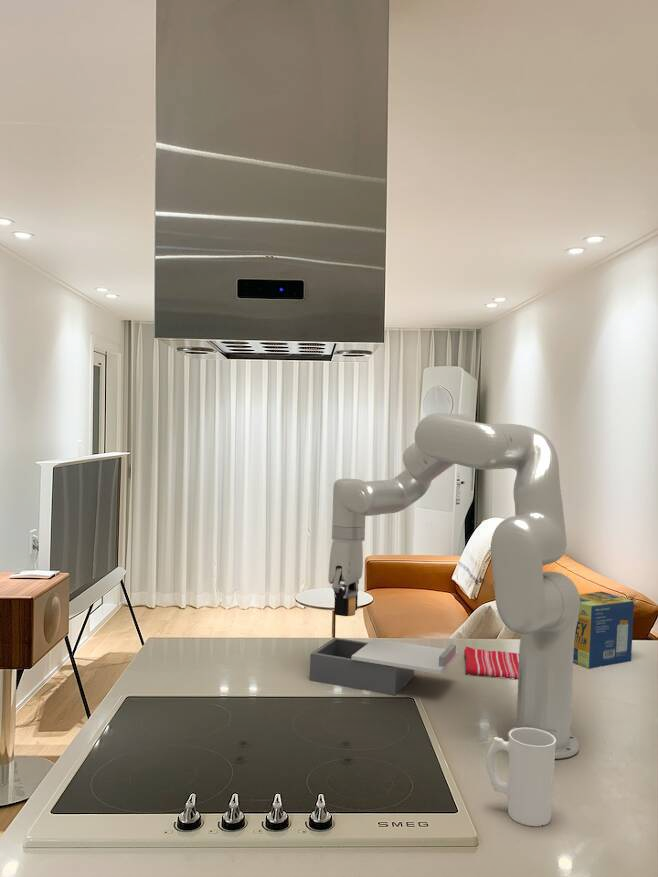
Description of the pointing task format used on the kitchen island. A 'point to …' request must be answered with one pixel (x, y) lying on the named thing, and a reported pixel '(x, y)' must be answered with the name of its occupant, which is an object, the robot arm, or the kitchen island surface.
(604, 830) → the kitchen island surface
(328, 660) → the housing
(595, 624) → the protein box
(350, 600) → the jar
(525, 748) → the mug
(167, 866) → the kitchen island surface
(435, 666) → the lid
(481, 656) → the dish towel
